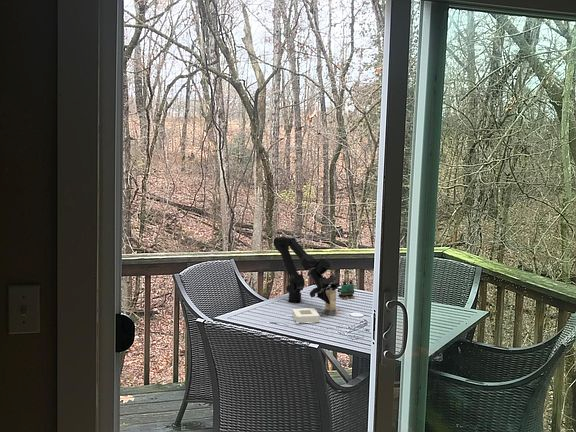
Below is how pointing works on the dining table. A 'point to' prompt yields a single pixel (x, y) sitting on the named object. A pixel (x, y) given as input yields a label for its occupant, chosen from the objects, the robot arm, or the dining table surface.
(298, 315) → the square ring frame
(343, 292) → the green boxy toy
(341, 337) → the dining table surface
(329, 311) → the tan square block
